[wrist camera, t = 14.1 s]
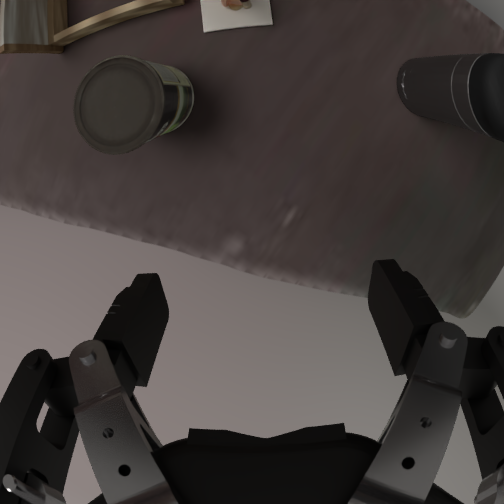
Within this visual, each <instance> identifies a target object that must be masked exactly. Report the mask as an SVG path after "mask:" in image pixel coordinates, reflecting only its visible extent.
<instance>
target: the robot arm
mask: <svg viewBox="0 0 504 504" xmlns="http://www.w3.org/2000/svg"><path fill="white" fill-rule="evenodd" d="M397 88H398V93H399V96H400V98H401V100H402V102H403V103H404V104H405V106H406V107H407V108H408V109H409V110H410V111H411V112H413V113H415V114H416V115H419V116H422V117H426V118H430V119H434V120H437V121H441V122H445V123H448V124H452V125H455V126H459V127H462V128H465V129H468V130H471V131H474V132H478V133H481V134H484V135H487V136H489V137H492V138H495V139H497V140H500V141H502V142H504V54H499V53H483V54H459V55H444V56H433V57H423V58H415V59H411V60H409V61H407V62H406V63H404V64H403V66H402V67H401V68H400V70H399V73H398V77H397ZM368 305H369V310H370V312H371V314H372V317H373V320H374V322H375V325H376V327H377V330H378V332H379V335H380V337H381V340H382V343H383V345H384V348H385V350H386V353H387V356H388V359H389V361H390V364H391V366H392V370H393V372H394V375H395V376H397V375H403V374H406V376H407V379H408V380H407V382H406V384H405V386H404V389H403V391H402V393H401V396H400V398H399V400H398V402H397V404H396V407H395V408H394V411H393V413H392V415H391V417H390V419H389V421H388V423H387V425H386V427H385V428H384V430H383V432H382V434H381V436H380V437H379V439H378V441H375V440H373V439H371V438H368V437H366V436H362V435H358V434H354V433H346V432H345V426H344V423H340V424H333V425H324V426H315V427H306V428H303V429H299V430H296V431H292V432H289V433H286V434H282V435H279V436H275V437H271V438H260V437H255V436H250V435H245V434H241V433H237V432H232V431H228V430H210V429H209V430H208V429H192V428H190V429H189V434H188V438H185V439H181V440H177V441H174V442H171V443H169V444H166V445H164V446H163V445H162V444H161V443H160V441H159V439H158V438H157V437H156V435H155V433H154V431H153V430H152V428H151V426H150V424H149V422H148V420H147V418H146V417H145V415H144V413H143V411H142V409H141V407H140V405H139V403H138V401H137V399H136V397H135V395H134V394H133V391H134V388H135V386H143V387H147V384H148V381H149V378H150V374H151V371H152V368H153V365H154V362H155V359H156V356H157V353H158V349H159V346H160V343H161V340H162V337H163V334H164V331H165V328H166V325H167V322H168V318H169V308H168V304H167V300H166V297H165V294H164V291H163V288H162V284H161V281H160V278H159V275H158V274H157V273H147V274H137V276H136V277H135V279H134V281H133V282H132V284H131V286H130V287H126V288H125V289H124V290H123V291H121V292H120V293H119V294H118V295H117V296H116V298H115V300H114V302H113V303H112V306H111V307H110V309H109V311H108V314H106V316H105V318H104V319H103V321H102V323H101V325H100V327H99V328H98V330H97V332H96V334H95V336H94V338H93V340H88V341H84V342H82V343H80V344H79V345H77V346H76V347H75V348H74V349H73V350H72V352H71V354H70V356H69V357H65V358H58V359H52V357H51V356H50V354H49V353H48V352H47V351H46V350H44V349H36V350H33V351H31V352H30V353H28V354H27V355H26V356H25V357H24V358H23V360H22V361H21V363H20V365H19V367H18V368H17V370H16V372H15V374H14V376H13V378H12V380H11V382H10V384H9V386H8V388H7V390H6V392H5V394H4V396H3V398H2V400H1V402H0V504H66V501H65V499H64V497H63V490H64V485H65V482H66V477H67V473H68V469H69V466H70V462H71V458H72V454H73V451H74V447H75V444H76V440H77V437H78V433H79V431H80V434H81V437H82V441H83V443H84V447H85V449H86V452H87V455H88V458H89V461H90V463H91V466H92V469H93V471H94V474H95V476H96V479H97V481H98V483H99V486H100V488H101V491H102V494H100V495H99V496H98V497H96V498H95V499H94V500H92V501H91V502H90V503H88V504H464V503H462V502H461V501H459V500H458V499H456V498H455V497H453V496H452V495H450V494H449V493H447V492H446V491H444V490H443V489H442V488H440V487H439V486H437V485H436V484H435V483H433V481H434V479H435V477H436V474H437V472H438V469H439V467H440V465H441V462H442V459H443V457H444V454H445V451H446V449H447V446H448V443H449V440H450V437H451V434H452V431H453V428H454V424H455V421H456V417H457V414H458V410H459V407H460V404H461V407H462V410H463V413H464V415H465V419H466V422H467V425H468V428H469V431H470V435H471V438H472V441H473V445H474V448H475V452H476V455H477V459H478V463H479V467H480V471H481V476H482V480H483V481H482V482H481V484H480V486H479V488H478V492H477V495H476V497H475V499H474V503H475V504H504V411H503V409H502V406H501V403H500V401H499V398H498V396H497V393H496V391H495V389H494V388H495V387H496V386H497V385H498V387H499V389H500V392H501V394H502V396H503V399H504V327H501V326H497V327H493V328H492V329H491V330H490V331H489V333H488V335H487V337H486V338H474V337H467V336H466V334H465V332H464V331H463V330H462V329H461V328H460V327H458V326H457V325H455V324H453V323H450V322H445V321H444V320H443V318H442V316H441V315H440V313H439V311H438V310H437V308H436V307H435V305H434V303H433V302H432V300H431V299H430V297H428V294H427V293H426V291H425V290H424V289H423V287H422V285H421V284H420V282H419V281H418V279H417V278H416V277H414V276H413V275H412V274H410V273H409V272H408V271H404V272H403V271H402V270H401V268H400V267H399V265H398V264H397V262H396V261H395V260H394V259H389V260H376V261H374V263H373V267H372V274H371V280H370V286H369V292H368ZM44 402H45V403H46V404H47V405H48V406H49V409H48V411H47V414H46V417H45V419H44V422H43V425H42V427H41V430H40V433H39V432H38V430H37V426H36V422H37V418H38V416H39V413H40V410H41V408H42V406H43V403H44Z"/></svg>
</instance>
